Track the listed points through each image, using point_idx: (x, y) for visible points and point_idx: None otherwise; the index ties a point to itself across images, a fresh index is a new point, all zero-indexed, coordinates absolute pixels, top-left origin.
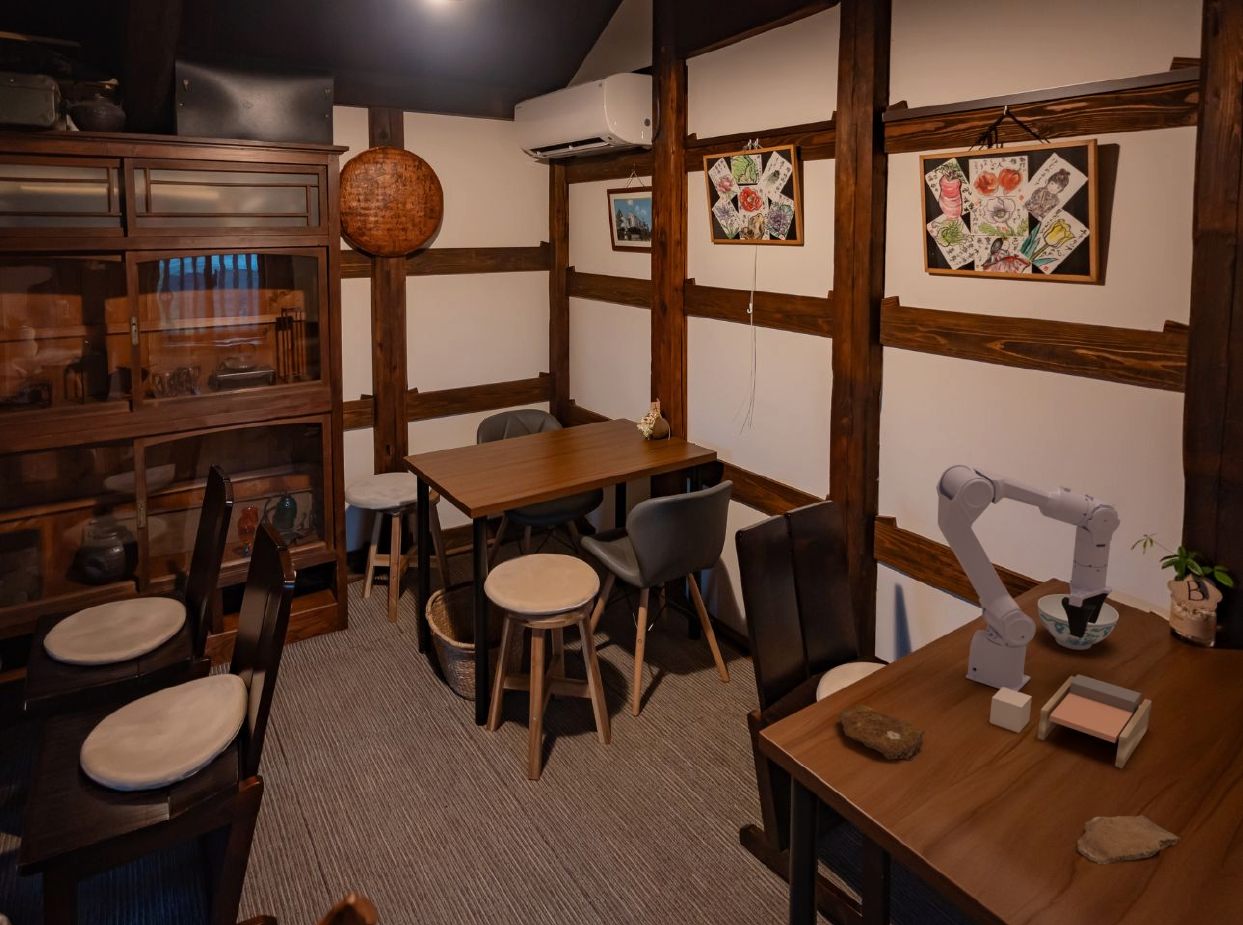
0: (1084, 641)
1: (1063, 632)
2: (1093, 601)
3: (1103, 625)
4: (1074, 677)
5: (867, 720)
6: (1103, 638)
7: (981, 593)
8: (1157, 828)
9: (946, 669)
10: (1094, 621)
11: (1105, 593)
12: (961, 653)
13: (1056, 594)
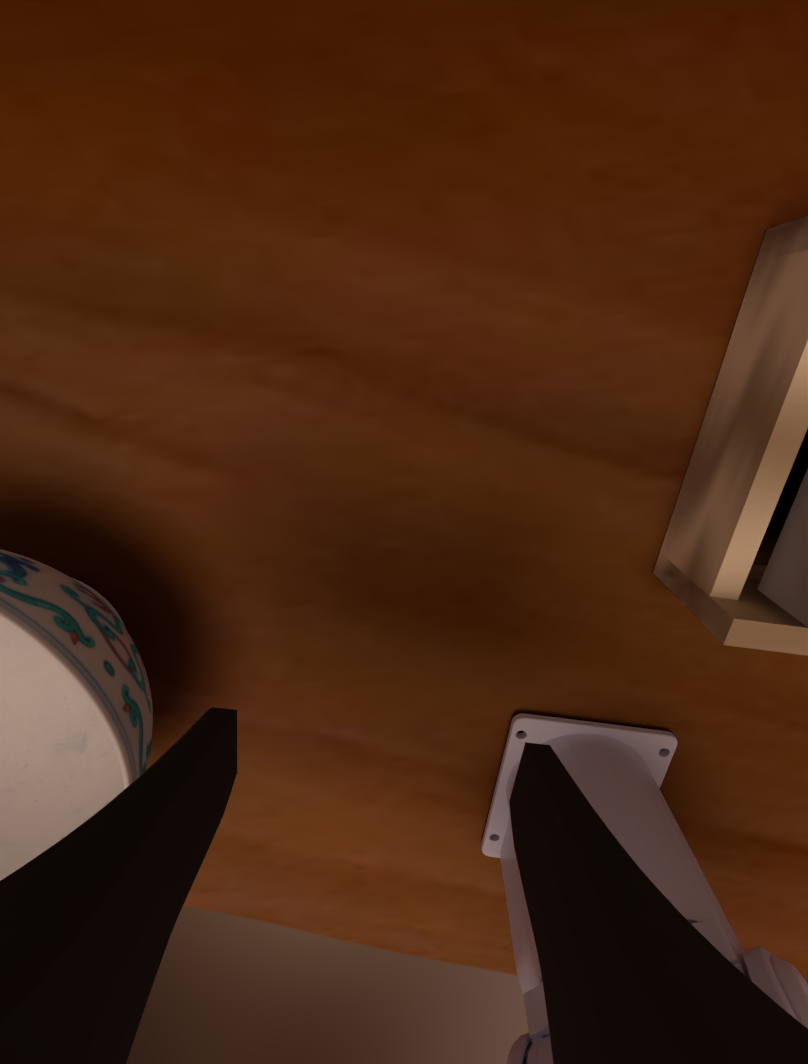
0: (119, 621)
1: (152, 725)
2: (134, 929)
3: (12, 610)
4: (733, 627)
5: None
6: (21, 555)
7: None
8: None
9: None
10: (228, 727)
11: (17, 1038)
12: (435, 898)
13: None
